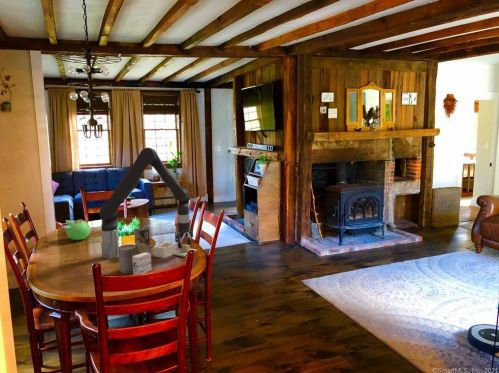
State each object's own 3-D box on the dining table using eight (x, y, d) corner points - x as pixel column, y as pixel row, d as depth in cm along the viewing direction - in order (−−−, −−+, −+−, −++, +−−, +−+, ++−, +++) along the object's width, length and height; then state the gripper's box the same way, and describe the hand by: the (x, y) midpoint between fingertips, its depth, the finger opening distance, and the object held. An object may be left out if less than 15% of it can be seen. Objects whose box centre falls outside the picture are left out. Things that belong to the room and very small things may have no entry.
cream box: (163, 258, 240) (163, 248, 239) (154, 256, 244) (153, 246, 243) (176, 253, 249) (175, 243, 249) (166, 251, 254) (166, 242, 253)
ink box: (146, 272, 216) (145, 251, 214) (152, 274, 213) (151, 253, 211) (133, 277, 210) (131, 255, 208) (138, 279, 206) (137, 257, 205)
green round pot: (90, 241, 280) (89, 221, 278) (64, 244, 274) (62, 223, 272) (90, 235, 297) (89, 216, 295) (66, 237, 291) (64, 218, 289)
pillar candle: (139, 267, 225) (138, 241, 223) (135, 273, 215) (133, 246, 213) (122, 268, 224) (120, 242, 222) (117, 274, 215) (115, 247, 213)
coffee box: (150, 251, 253) (149, 227, 251) (150, 254, 247) (149, 229, 244) (135, 253, 250) (134, 228, 248) (135, 256, 244) (134, 231, 242)
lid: (184, 258, 240) (183, 248, 239) (173, 255, 245) (172, 246, 244) (196, 252, 250) (196, 243, 249) (185, 250, 255) (185, 241, 254)
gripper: (180, 224, 237) (181, 250, 239) (195, 219, 249) (196, 244, 251) (171, 222, 241) (172, 248, 243) (186, 218, 252) (187, 242, 255)
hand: (184, 246), depth 247 cm, fingers open, 8 cm apart
